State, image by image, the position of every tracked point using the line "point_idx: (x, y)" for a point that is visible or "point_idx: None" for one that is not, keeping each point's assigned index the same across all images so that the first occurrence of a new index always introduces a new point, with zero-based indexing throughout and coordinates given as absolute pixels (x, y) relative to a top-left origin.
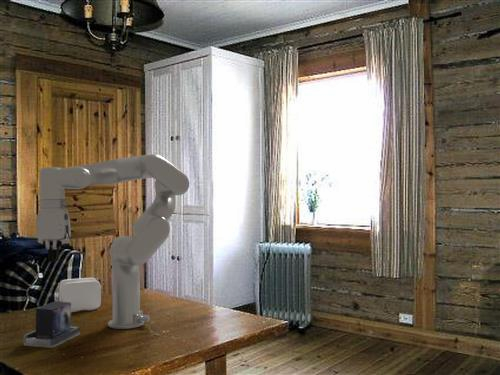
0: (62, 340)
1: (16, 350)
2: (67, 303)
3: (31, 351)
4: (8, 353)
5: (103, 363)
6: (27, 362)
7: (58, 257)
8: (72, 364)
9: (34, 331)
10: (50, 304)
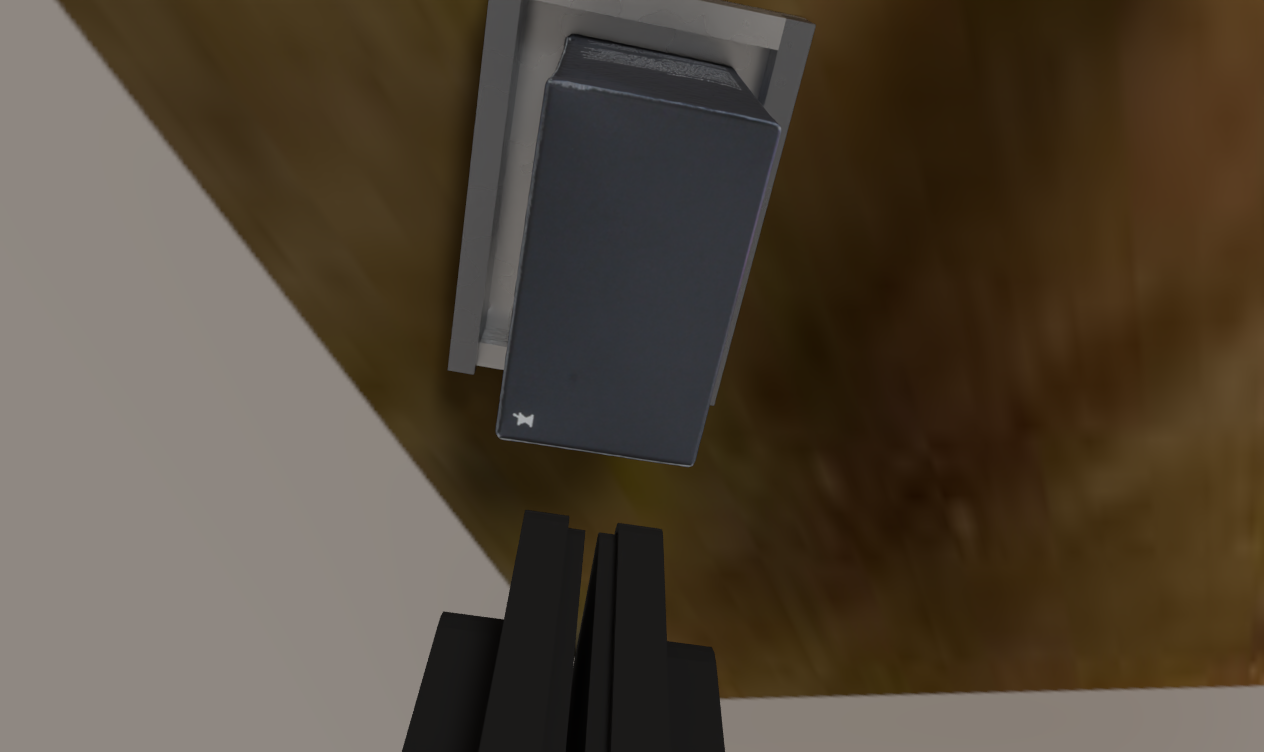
0: None
1: (473, 430)
2: (756, 188)
3: None
4: (456, 483)
5: (1108, 610)
6: None
7: (706, 671)
8: (933, 627)
9: (477, 266)
10: (580, 284)
